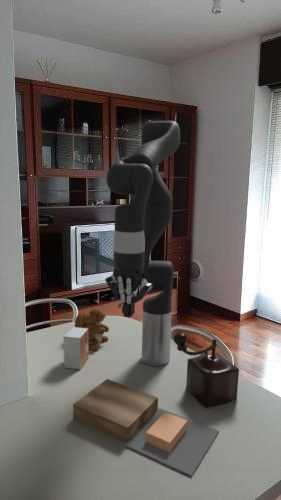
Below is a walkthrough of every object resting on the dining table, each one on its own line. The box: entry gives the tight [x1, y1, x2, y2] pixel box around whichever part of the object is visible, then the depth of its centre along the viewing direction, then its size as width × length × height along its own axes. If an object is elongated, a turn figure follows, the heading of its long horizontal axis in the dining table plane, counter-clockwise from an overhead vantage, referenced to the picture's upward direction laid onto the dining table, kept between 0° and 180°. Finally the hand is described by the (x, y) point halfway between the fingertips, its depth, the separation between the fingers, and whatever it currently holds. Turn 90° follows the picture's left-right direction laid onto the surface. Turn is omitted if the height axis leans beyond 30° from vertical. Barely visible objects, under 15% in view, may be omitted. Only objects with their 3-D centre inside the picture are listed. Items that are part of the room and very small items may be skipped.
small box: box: [63, 326, 90, 370], centre depth 118 cm, size 8×6×10 cm
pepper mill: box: [172, 332, 240, 409], centre depth 101 cm, size 16×11×18 cm
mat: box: [124, 407, 220, 478], centre depth 85 cm, size 16×16×1 cm
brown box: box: [72, 378, 159, 444], centre depth 93 cm, size 14×16×4 cm
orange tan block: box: [146, 412, 188, 452], centre depth 85 cm, size 9×6×2 cm, turn 148°
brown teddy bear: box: [73, 306, 110, 352], centre depth 133 cm, size 10×14×13 cm
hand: (128, 316), depth 93 cm, fingers closed
